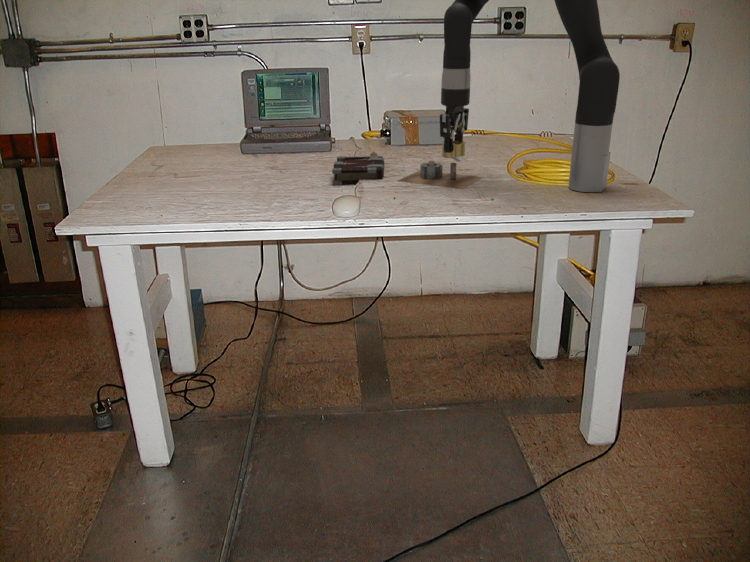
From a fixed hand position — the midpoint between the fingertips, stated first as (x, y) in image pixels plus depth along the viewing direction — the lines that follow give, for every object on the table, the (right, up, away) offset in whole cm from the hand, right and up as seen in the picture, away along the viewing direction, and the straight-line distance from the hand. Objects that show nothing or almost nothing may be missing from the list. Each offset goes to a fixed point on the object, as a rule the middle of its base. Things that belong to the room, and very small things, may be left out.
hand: (453, 149), depth 169 cm
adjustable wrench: (+5, +2, +31) cm, 31 cm away
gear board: (-3, -9, +5) cm, 10 cm away
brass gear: (0, -1, 0) cm, 1 cm away
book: (-26, -4, +18) cm, 32 cm away
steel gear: (-5, -6, +6) cm, 10 cm away
